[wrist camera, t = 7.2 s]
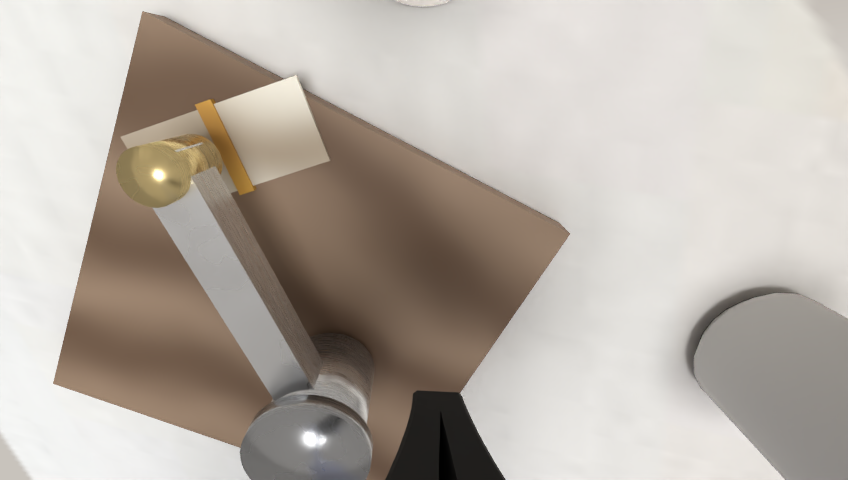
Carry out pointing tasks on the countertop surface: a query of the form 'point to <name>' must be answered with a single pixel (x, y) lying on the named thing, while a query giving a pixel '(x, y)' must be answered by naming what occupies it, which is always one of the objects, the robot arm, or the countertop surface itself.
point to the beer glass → (422, 2)
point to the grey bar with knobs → (259, 320)
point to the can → (782, 381)
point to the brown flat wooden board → (292, 250)
